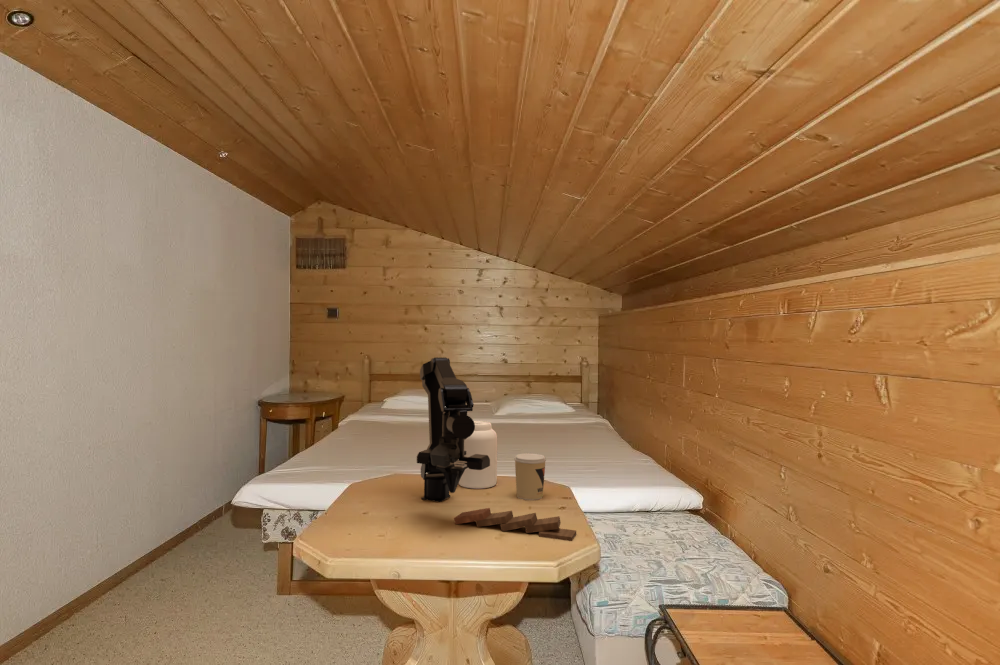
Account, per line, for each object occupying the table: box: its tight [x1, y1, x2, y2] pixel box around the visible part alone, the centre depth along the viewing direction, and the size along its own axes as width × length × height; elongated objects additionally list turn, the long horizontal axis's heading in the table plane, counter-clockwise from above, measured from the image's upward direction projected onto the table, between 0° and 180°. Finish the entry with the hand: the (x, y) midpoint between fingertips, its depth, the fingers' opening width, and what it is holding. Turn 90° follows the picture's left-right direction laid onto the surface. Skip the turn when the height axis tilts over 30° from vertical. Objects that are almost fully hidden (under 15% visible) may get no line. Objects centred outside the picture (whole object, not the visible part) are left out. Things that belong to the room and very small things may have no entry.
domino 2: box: [475, 510, 514, 528], centre depth 142 cm, size 2×5×8 cm
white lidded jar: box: [458, 420, 498, 490], centre depth 183 cm, size 12×12×20 cm
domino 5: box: [538, 527, 577, 542], centre depth 136 cm, size 2×5×8 cm
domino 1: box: [453, 507, 492, 525], centre depth 144 cm, size 2×5×8 cm
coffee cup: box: [514, 452, 547, 501], centre depth 169 cm, size 9×9×12 cm
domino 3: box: [499, 512, 538, 532], centre depth 140 cm, size 2×5×8 cm
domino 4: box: [524, 516, 562, 534], centre depth 139 cm, size 2×5×8 cm
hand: (452, 492), depth 147 cm, fingers closed
